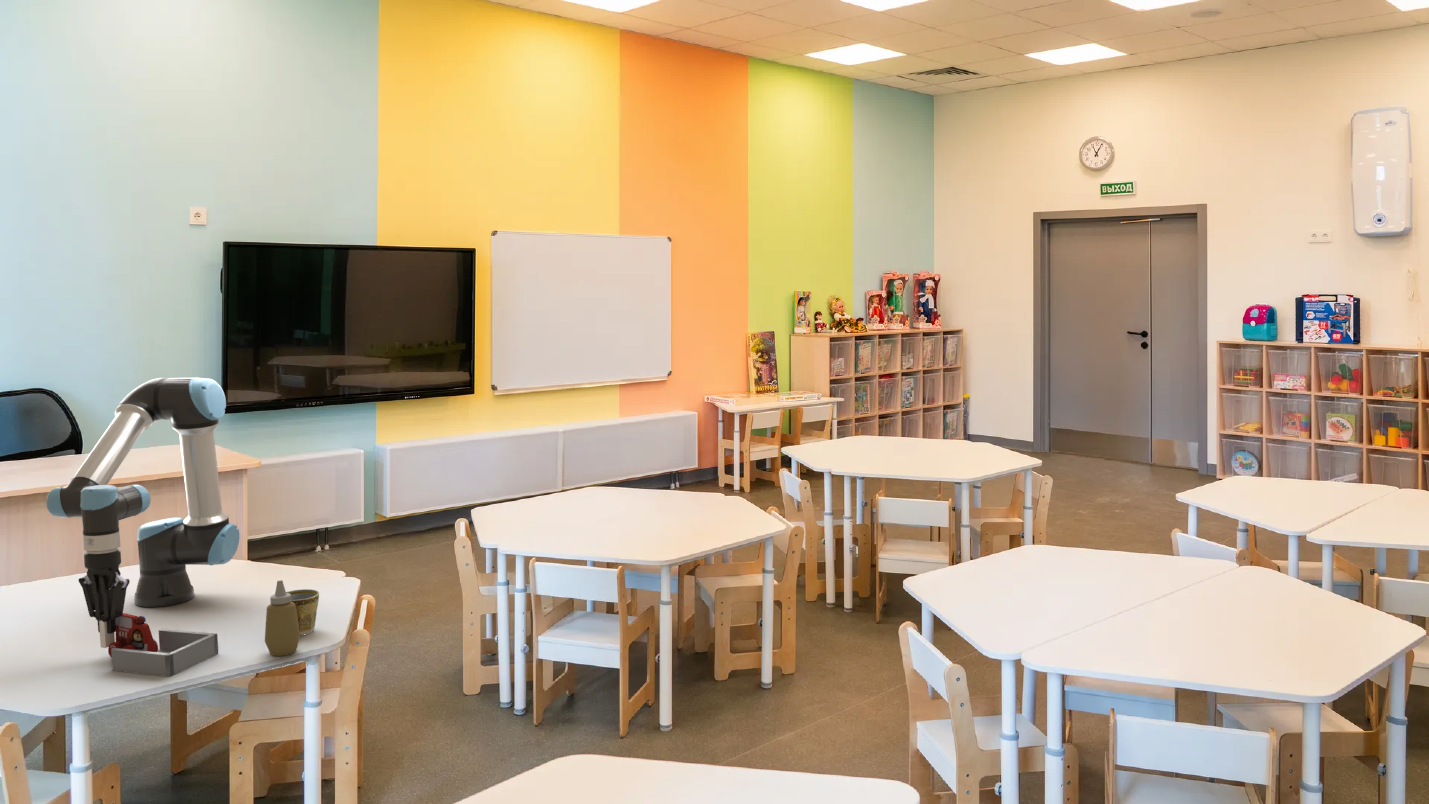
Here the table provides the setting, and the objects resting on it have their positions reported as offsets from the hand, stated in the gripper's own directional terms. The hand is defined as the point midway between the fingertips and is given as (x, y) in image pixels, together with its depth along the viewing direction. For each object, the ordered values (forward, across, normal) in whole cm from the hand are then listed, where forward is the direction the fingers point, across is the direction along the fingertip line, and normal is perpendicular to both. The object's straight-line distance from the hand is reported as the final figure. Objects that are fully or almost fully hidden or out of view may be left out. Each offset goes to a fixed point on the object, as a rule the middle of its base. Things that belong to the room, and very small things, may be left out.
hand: (107, 645), depth 241 cm
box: (+3, +16, +1) cm, 17 cm away
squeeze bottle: (+3, +39, +13) cm, 41 cm away
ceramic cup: (+3, +32, +28) cm, 42 cm away
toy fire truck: (+3, +6, +1) cm, 7 cm away
